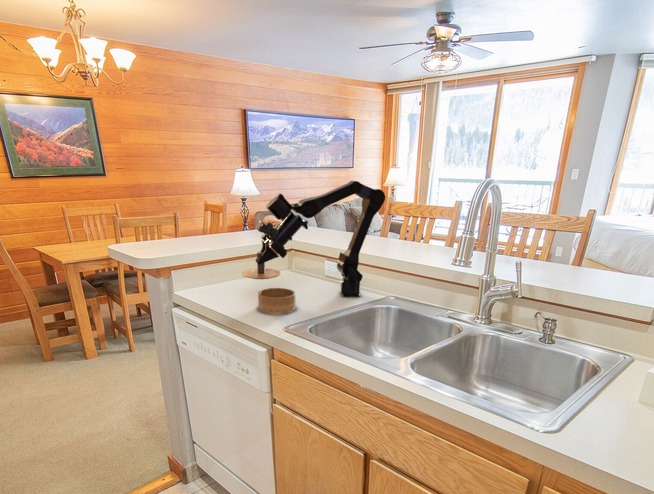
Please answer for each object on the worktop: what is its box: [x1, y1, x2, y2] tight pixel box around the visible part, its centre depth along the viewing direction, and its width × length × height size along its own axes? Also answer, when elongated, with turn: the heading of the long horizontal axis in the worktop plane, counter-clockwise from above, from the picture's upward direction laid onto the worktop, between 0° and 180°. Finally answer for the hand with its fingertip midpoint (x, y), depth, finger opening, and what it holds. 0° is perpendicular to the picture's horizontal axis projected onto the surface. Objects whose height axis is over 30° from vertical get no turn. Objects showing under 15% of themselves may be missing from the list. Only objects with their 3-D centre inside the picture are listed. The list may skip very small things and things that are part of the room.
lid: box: [241, 251, 281, 280], centre depth 153 cm, size 13×13×8 cm
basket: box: [257, 287, 296, 315], centre depth 149 cm, size 12×12×6 cm
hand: (257, 262), depth 153 cm, fingers closed on lid, 2 cm apart
